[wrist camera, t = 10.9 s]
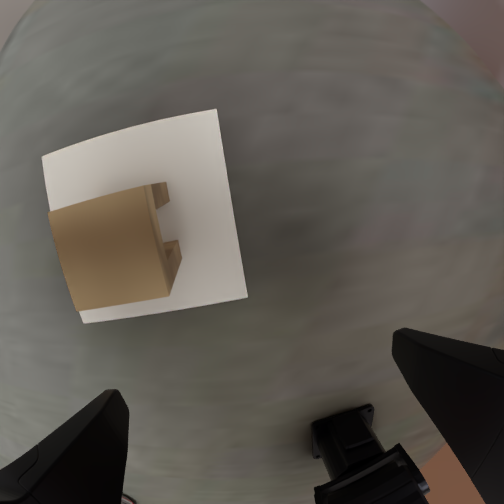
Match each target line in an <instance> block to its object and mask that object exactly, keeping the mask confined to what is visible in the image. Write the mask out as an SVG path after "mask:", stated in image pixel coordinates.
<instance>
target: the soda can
mask: <svg viewBox="0 0 504 504" xmlns="http://www.w3.org/2000/svg"><path fill="white" fill-rule="evenodd" d="M121 504H134V503H133V502H132V501H131V500H130V499H129V498H127V497H125V496H123V495H122V501H121Z"/></svg>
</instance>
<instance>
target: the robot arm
mask: <svg viewBox="0 0 504 504" xmlns="http://www.w3.org/2000/svg"><path fill="white" fill-rule="evenodd" d="M392 356H393V359H394V360H395V362H396V364H397V366H398V368H399V369H400V371H401V373H402V375H403V377H404V378H405V380H406V382H407V384H408V386H409V388H410V389H411V391H412V392H413V394H414V395H415V397H416V398H417V400H418V401H419V402H420V404H421V405H422V407H423V408H424V410H425V411H426V412H427V414H428V415H429V417H430V418H431V420H432V421H433V423H434V424H435V426H436V427H437V428H438V430H439V431H440V433H441V434H442V436H443V437H444V439H445V440H446V442H447V443H448V445H449V446H450V448H451V449H452V451H453V452H454V454H455V455H456V457H457V458H458V460H459V461H460V463H461V465H462V466H463V468H464V469H465V471H466V472H467V474H468V476H469V477H470V478H471V481H472V482H473V484H474V485H475V487H476V489H477V490H478V492H479V494H480V495H481V497H482V498H483V500H484V502H485V503H486V504H504V350H501V349H496V348H492V349H491V347H487V346H482V345H478V344H473V343H469V342H464V341H460V340H455V339H451V338H446V337H442V336H438V335H434V334H429V333H425V332H421V331H417V330H413V329H409V328H402V329H399V330H396V331H395V332H394V333H393V341H392ZM373 414H374V407H373V405H371V404H370V405H367V406H364V407H361V408H358V409H355V410H352V411H349V412H346V413H343V414H340V415H337V416H333V417H330V418H327V419H323V420H320V421H316V422H314V423H313V424H312V425H311V430H312V455H313V458H314V459H319V458H322V459H323V461H324V464H325V466H326V469H327V471H328V474H329V476H330V479H331V481H330V482H328V483H326V484H323V485H321V486H320V485H319V486H317V487H314V491H315V494H314V498H315V503H316V504H429V503H428V501H427V500H426V498H425V496H424V495H426V494H427V493H429V492H430V489H429V486H428V484H427V482H426V481H425V479H424V477H423V475H422V474H421V472H420V471H419V469H418V468H417V466H416V465H415V463H414V462H413V461H412V459H411V458H410V457H409V455H408V454H407V453H406V451H405V450H404V449H403V447H402V446H401V445H400V443H398V444H396V445H395V446H394V447H393V448H392V449H390V450H388V451H387V452H386V451H385V450H384V448H383V446H382V445H381V443H380V441H379V440H378V438H377V436H376V435H375V433H374V431H373V430H372V428H371V426H372V420H373ZM128 430H129V409H128V407H127V405H126V403H125V401H124V399H123V397H122V395H121V393H120V392H119V391H118V390H117V389H108V390H105V391H104V392H103V393H101V394H100V395H99V396H98V397H96V398H95V399H94V400H93V401H91V402H90V403H89V404H88V405H86V406H85V407H84V408H82V409H81V410H80V411H79V412H77V413H76V414H75V415H74V416H72V417H71V418H70V419H69V420H67V421H66V422H65V423H64V424H62V425H61V426H60V427H58V428H57V429H56V430H55V431H53V432H52V433H51V434H50V435H48V436H47V437H46V438H44V439H43V440H42V441H41V442H39V443H38V445H35V446H34V447H33V448H32V449H30V450H29V451H28V452H26V453H25V454H24V455H22V456H21V457H19V458H18V459H16V460H15V461H13V462H12V463H10V464H9V465H7V466H6V467H4V468H2V469H1V470H0V504H121V501H122V491H123V483H124V475H125V467H126V460H127V452H128Z"/></svg>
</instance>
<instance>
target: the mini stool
mask: <svg viewBox="0 0 504 504" xmlns="http://www.w3.org/2000/svg"><path fill="white" fill-rule="evenodd" d="M168 202H170V199H169V194H168V188H167V183H166V182H161V183H155V184H149V185H143V186H139V187H135V188H131V189H127V190H123V191H119V192H115V193H112V194H108V195H104V196H101V197H97V198H93V199H90V200H86V201H83V202H80V203H76V204H73V205H70V206H66V207H63V208H60V209H57V210H54V211H51V212H48V217H49V221H50V226H51V230H52V234H53V238H54V242H55V246H56V250H57V253H58V257H59V260H60V264H61V267H62V270H63V274H64V277H65V280H66V283H67V286H68V289H69V292H70V295H71V298H72V300H73V303H74V306H75V309H76V311H77V312H78V311H85V310H91V309H97V308H104V307H110V306H116V305H122V304H128V303H134V302H140V301H146V300H152V299H157V298H163V297H169V296H170V293H171V290H172V287H173V284H174V281H175V278H176V275H177V272H178V269H179V266H180V263H181V261H182V255H181V251H180V246H179V242H178V240H174V241H169V242H164V243H163V240H162V236H161V231H160V227H159V222H158V217H157V213H156V210H157V209H158V208H160V207H162V206H163V205H165V204H166V203H168Z"/></svg>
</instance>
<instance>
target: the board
mask: <svg viewBox="0 0 504 504" xmlns="http://www.w3.org/2000/svg"><path fill="white" fill-rule="evenodd" d="M42 163H43V170H44V177H45V183H46V190H47V195H48V201H49V206H50V211H54V210H57V209H60V208H63V207H66V206H70V205H73V204H76V203H80V202H83V201H86V200H90V199H93V198H97V197H101V196H104V195H108V194H112V193H115V192H119V191H123V190H127V189H131V188H135V187H139V186H143V185H149V184H155V183H161V182H166V183H167V188H168V194H169V199H170V202H168V203H166V204H165V205H163V206H162V207H160V208H158V209H157V210H156V213H157V217H158V222H159V227H160V231H161V236H162V240H163V243H164V242H169V241H174V240H178V242H179V246H180V251H181V255H182V261H181V263H180V266H179V269H178V272H177V275H176V278H175V281H174V284H173V287H172V290H171V293H170V296H169V297H163V298H157V299H152V300H146V301H140V302H134V303H128V304H122V305H116V306H110V307H104V308H97V309H91V310H85V311H79V313H80V315H81V318H82V321H83V323H84V324H85V323H93V322H101V321H108V320H115V319H122V318H129V317H136V316H143V315H149V314H156V313H162V312H169V311H175V310H181V309H187V308H193V307H198V306H204V305H210V304H216V303H221V302H227V301H232V300H237V299H243V298H248V294H247V289H246V283H245V277H244V272H243V266H242V260H241V254H240V248H239V243H238V237H237V231H236V225H235V219H234V213H233V207H232V201H231V195H230V189H229V183H228V177H227V171H226V165H225V159H224V153H223V146H222V140H221V134H220V128H219V121H218V115H217V109H213V110H207V111H201V112H196V113H190V114H185V115H180V116H175V117H171V118H166V119H162V120H157V121H153V122H149V123H145V124H141V125H137V126H133V127H129V128H125V129H122V130H118V131H115V132H111V133H108V134H105V135H101V136H98V137H95V138H92V139H89V140H86V141H83V142H80V143H77V144H74V145H71V146H68V147H66V148H63V149H60V150H57V151H55V152H52V153H50V154H47V155H45V156H42Z"/></svg>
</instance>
